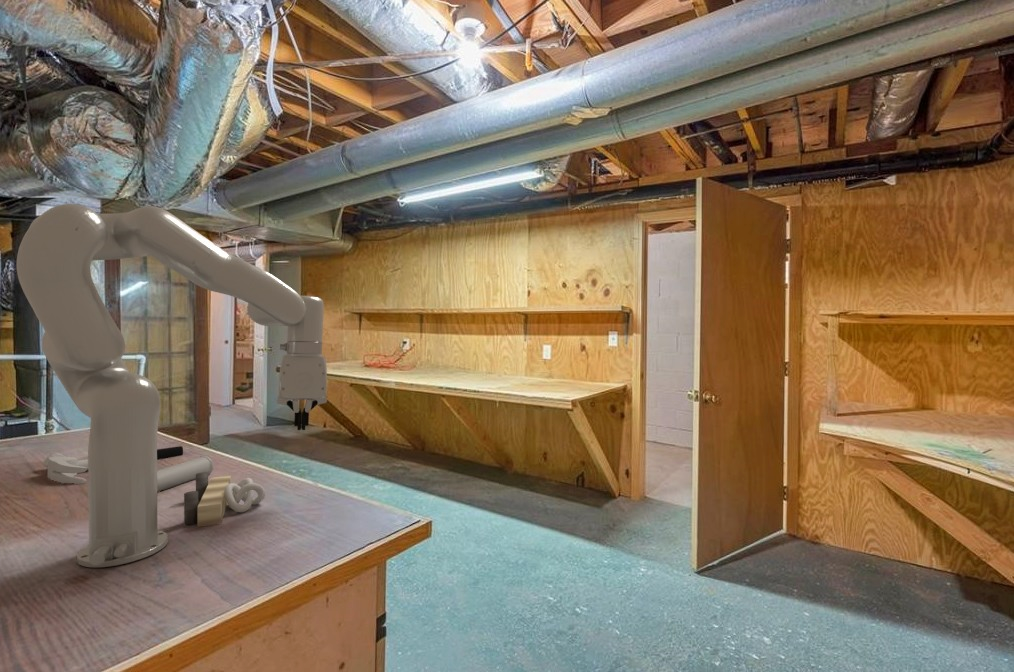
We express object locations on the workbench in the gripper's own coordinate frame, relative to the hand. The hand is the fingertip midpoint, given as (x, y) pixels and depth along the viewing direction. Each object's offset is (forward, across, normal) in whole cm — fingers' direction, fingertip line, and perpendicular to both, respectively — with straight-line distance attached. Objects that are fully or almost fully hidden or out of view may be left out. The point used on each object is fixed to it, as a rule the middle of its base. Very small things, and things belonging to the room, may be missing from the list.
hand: (301, 429), depth 112 cm
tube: (+18, -30, +21) cm, 41 cm away
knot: (+17, -11, 0) cm, 20 cm away
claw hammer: (+18, -44, +48) cm, 67 cm away
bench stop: (+17, -18, +2) cm, 25 cm away
